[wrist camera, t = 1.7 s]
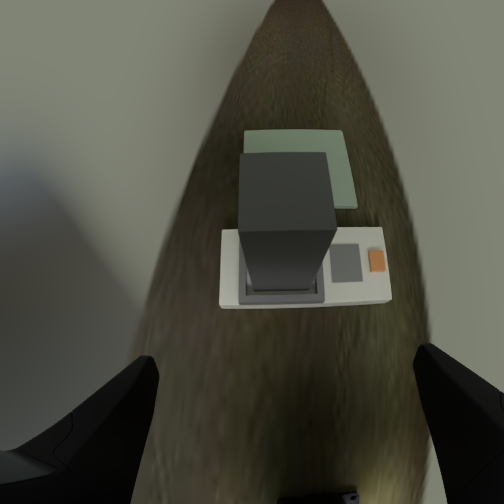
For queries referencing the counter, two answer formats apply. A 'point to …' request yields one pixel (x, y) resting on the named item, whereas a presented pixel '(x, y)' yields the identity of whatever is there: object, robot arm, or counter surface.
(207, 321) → the counter surface
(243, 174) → the brick
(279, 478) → the counter surface
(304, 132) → the rubber mat
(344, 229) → the power strip
